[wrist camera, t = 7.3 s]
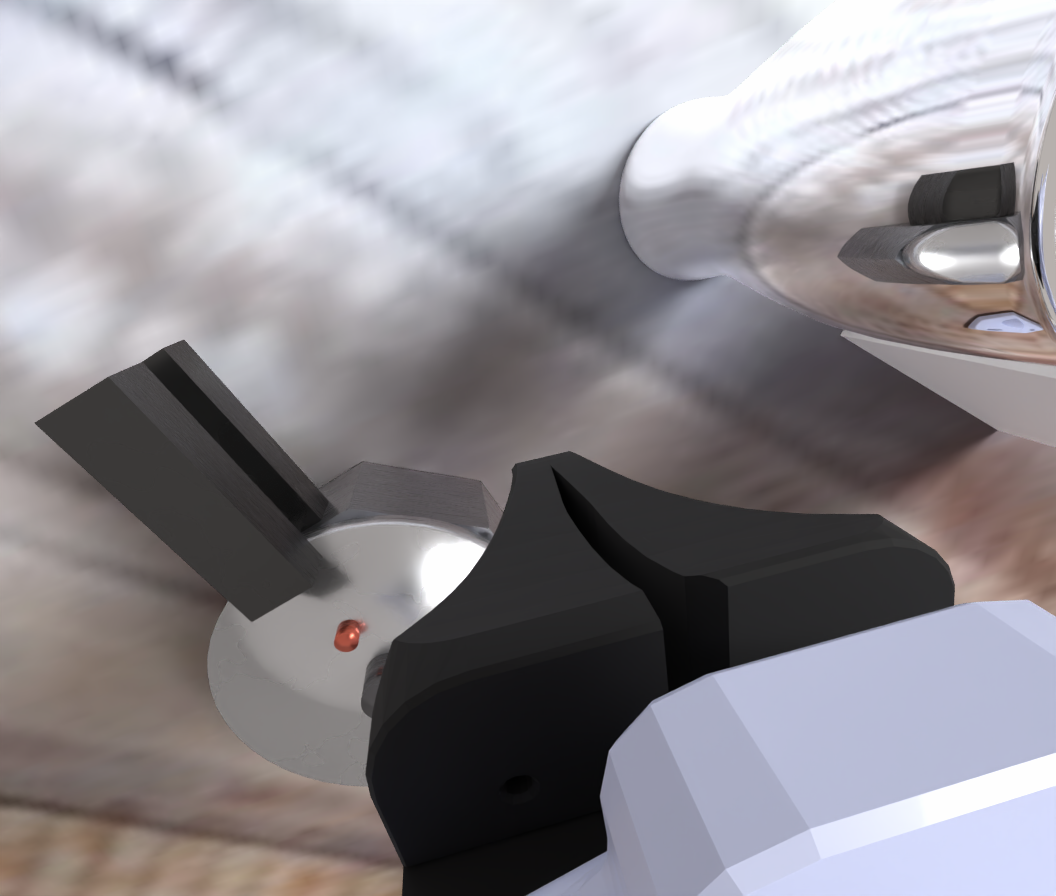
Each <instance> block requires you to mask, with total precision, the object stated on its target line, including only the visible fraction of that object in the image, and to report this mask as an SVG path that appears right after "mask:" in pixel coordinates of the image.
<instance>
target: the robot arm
mask: <svg viewBox="0 0 1056 896" xmlns="http://www.w3.org/2000/svg"><path fill="white" fill-rule="evenodd" d="M512 473H513V479H512V485H511V490H510V494H509V497H508V501H507V504H506V507H505V510H504V512H503V515H502V517H501V520H500V522H499V524H498V527H497V529H496V531H495V533H494V535H493V537H492V539H491V541H490V543H489V544H488V546H487V548H486V549H485V551H484V553H483V554H482V556H481V557H480V559H479V560H478V561H477V563H476V564H475V566H474V567H473V568H472V570H471V571H470V572H469V573H468V575H467V576H466V577H465V578H464V579H463V580H462V582H461V583H460V584H459V585H458V586H457V587H456V588H455V589H454V590H453V591H452V592H451V593H450V594H449V595H448V596H447V597H446V598H445V599H444V600H443V601H441V602H440V603H439V604H438V605H437V606H436V607H435V608H434V609H432V610H431V611H430V612H429V613H428V614H426V615H425V616H424V617H422V618H421V619H420V620H418V621H417V622H416V623H415V624H413V625H412V626H411V627H409V628H408V629H407V630H406V631H404V632H403V633H402V634H400V635H399V636H397V637H396V638H395V639H394V640H393V641H392V644H391V647H390V650H389V653H388V656H387V659H386V662H385V665H384V669H383V672H382V676H381V680H380V683H379V687H378V690H377V694H376V698H375V703H374V707H373V712H372V720H371V728H370V737H369V746H368V755H367V764H366V772H365V775H366V779H367V783H368V787H369V791H370V796H371V798H372V800H373V803H374V805H375V807H376V809H377V811H378V813H379V815H380V818H381V820H382V822H383V824H384V826H385V828H386V830H387V832H388V835H389V837H390V839H391V841H392V843H393V845H394V847H395V849H396V852H397V854H398V856H399V858H400V860H401V862H402V864H403V866H404V868H403V889H402V896H1056V617H1055V616H1054V615H1052V614H1050V613H1049V612H1047V611H1045V610H1044V609H1042V608H1041V607H1039V606H1037V605H1036V604H1034V603H1032V602H1031V601H1029V600H1010V601H989V602H972V603H964V604H958V605H955V606H954V594H955V584H954V581H953V578H952V575H951V571H950V568H949V565H948V564H947V563H946V562H945V561H944V560H943V558H942V557H941V556H940V555H939V554H938V553H937V552H936V550H934V549H932V548H931V547H929V546H928V545H926V544H925V543H923V542H921V541H920V540H918V539H917V538H915V537H913V536H912V535H910V534H909V533H907V532H906V531H904V530H902V529H901V528H899V527H898V526H896V525H895V524H893V523H891V522H890V521H888V520H887V519H885V518H883V517H882V516H880V515H878V514H799V513H785V512H772V511H761V510H752V509H744V508H738V507H732V506H725V505H719V504H713V503H708V502H703V501H699V500H694V499H691V498H687V497H683V496H679V495H675V494H672V493H668V492H665V491H662V490H658V489H655V488H653V487H650V486H647V485H645V484H642V483H639V482H636V481H634V480H631V479H629V478H627V477H624V476H622V475H620V474H617V473H615V472H613V471H611V470H608V469H606V468H604V467H602V466H600V465H598V464H596V463H594V462H592V461H590V460H588V459H586V458H584V457H582V456H580V455H578V454H576V453H573V452H571V451H568V452H564V453H560V454H555V455H551V456H547V457H543V458H538V459H534V460H530V461H525V462H521V463H517V464H515V466H514V467H513V468H512Z"/></svg>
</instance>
